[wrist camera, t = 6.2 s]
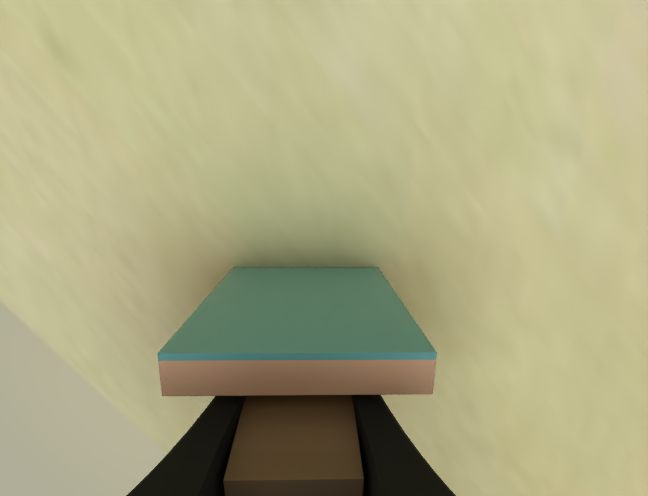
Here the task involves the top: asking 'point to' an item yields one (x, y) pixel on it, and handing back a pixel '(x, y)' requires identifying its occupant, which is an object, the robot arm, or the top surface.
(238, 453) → the block
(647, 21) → the top surface
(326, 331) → the tile
